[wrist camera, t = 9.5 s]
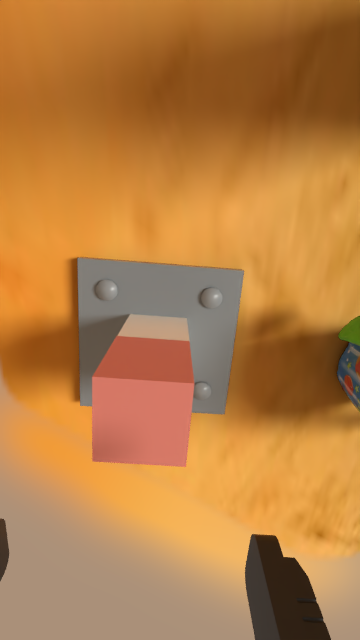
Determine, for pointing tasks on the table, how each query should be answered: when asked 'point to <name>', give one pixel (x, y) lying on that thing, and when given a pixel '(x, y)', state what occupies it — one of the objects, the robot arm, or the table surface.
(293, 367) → the table surface
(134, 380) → the red brick
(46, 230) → the table surface
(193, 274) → the base plate
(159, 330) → the cream brick
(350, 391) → the snack cup
